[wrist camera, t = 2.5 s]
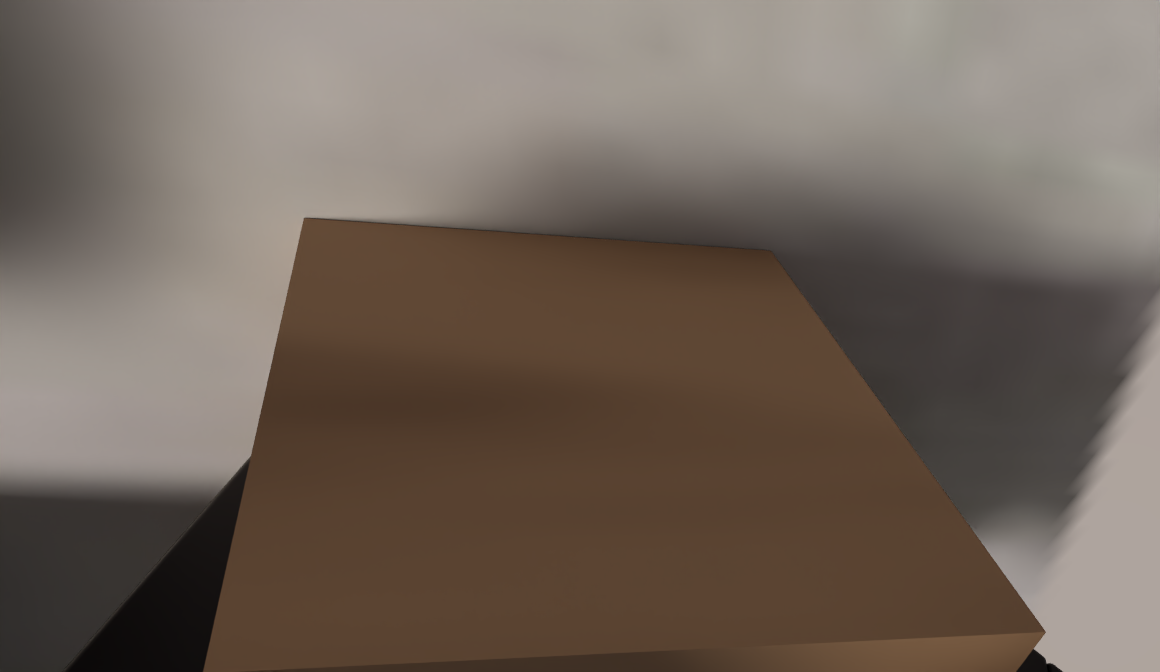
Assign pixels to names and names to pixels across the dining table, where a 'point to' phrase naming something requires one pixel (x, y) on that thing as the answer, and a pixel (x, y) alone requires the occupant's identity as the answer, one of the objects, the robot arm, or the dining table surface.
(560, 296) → the walnut cube
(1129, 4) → the dining table surface
